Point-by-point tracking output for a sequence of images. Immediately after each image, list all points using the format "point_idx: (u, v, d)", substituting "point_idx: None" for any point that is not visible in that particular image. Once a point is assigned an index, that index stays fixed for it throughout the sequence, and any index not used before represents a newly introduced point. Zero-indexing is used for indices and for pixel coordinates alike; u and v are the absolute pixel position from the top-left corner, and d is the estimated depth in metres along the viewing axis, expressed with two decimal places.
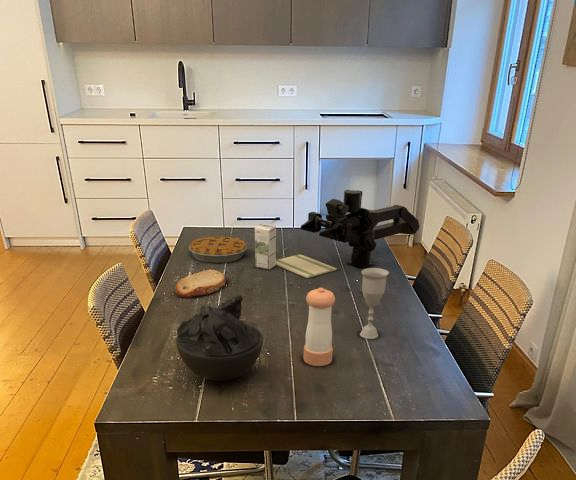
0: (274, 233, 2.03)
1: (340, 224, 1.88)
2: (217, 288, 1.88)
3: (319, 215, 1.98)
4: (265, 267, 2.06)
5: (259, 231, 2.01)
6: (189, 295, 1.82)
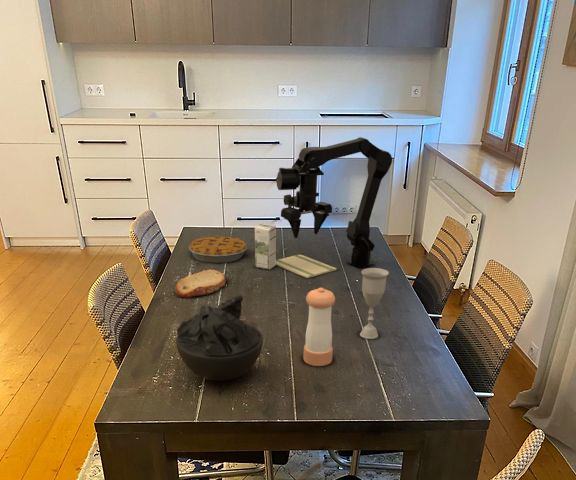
0: (274, 233, 2.03)
1: None
2: (217, 288, 1.88)
3: None
4: (265, 267, 2.06)
5: (259, 231, 2.01)
6: (189, 295, 1.82)
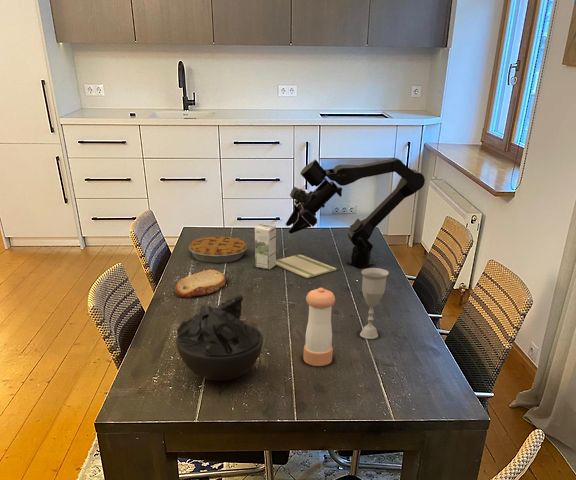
0: (274, 233, 2.03)
1: (298, 215, 1.94)
2: (217, 288, 1.88)
3: (299, 201, 2.04)
4: (265, 267, 2.06)
5: (259, 231, 2.01)
6: (189, 295, 1.82)
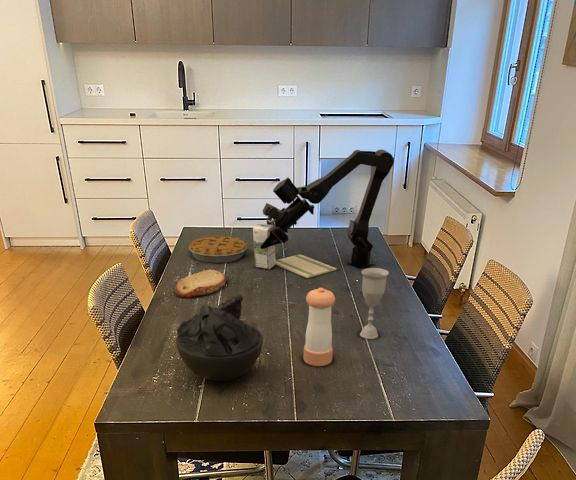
0: None
1: (270, 231, 1.96)
2: (217, 288, 1.88)
3: (272, 217, 2.06)
4: (265, 267, 2.06)
5: (257, 232, 2.00)
6: (189, 295, 1.82)
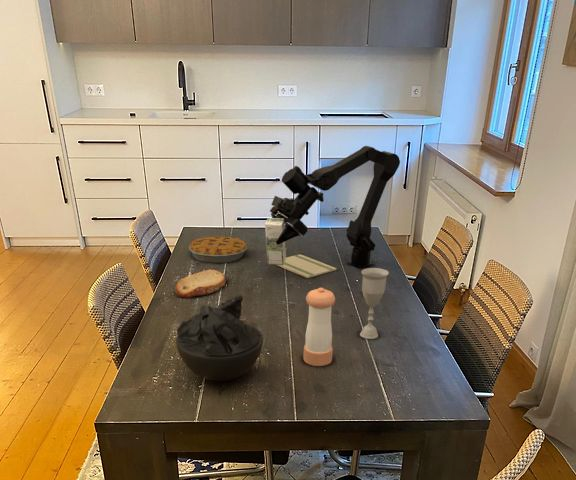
0: (284, 226, 1.92)
1: (287, 225, 1.86)
2: (217, 288, 1.88)
3: (277, 210, 1.95)
4: (279, 263, 1.96)
5: (271, 228, 1.89)
6: (189, 295, 1.82)
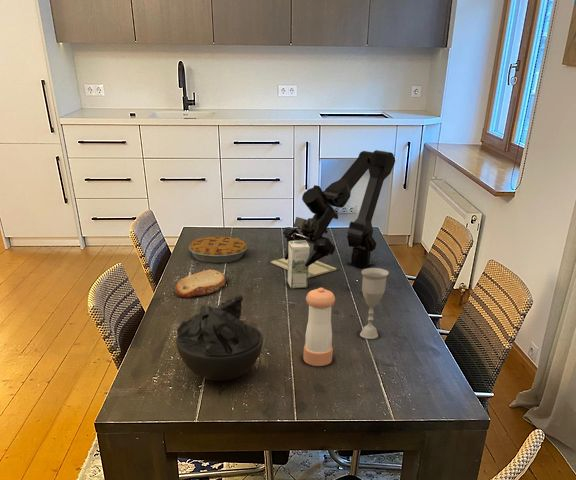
0: None
1: (318, 246, 1.82)
2: (217, 288, 1.88)
3: (293, 231, 1.90)
4: (303, 286, 1.91)
5: (298, 250, 1.84)
6: (189, 295, 1.82)
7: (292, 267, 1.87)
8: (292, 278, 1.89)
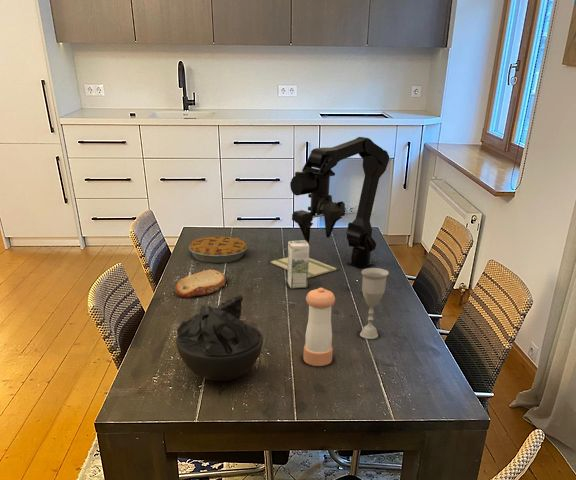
0: None
1: (340, 218, 1.93)
2: (217, 288, 1.88)
3: None
4: (303, 286, 1.91)
5: (298, 249, 1.84)
6: (189, 295, 1.82)
7: (292, 266, 1.87)
8: (292, 278, 1.89)
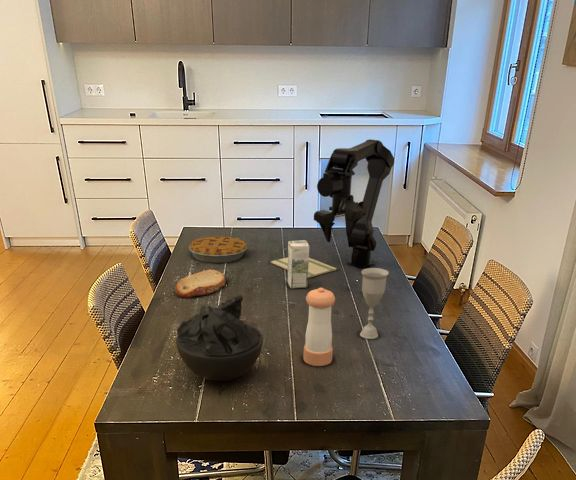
0: None
1: (361, 218, 1.94)
2: (217, 288, 1.88)
3: None
4: (303, 286, 1.91)
5: (298, 249, 1.84)
6: (189, 295, 1.82)
7: (292, 267, 1.87)
8: (292, 278, 1.89)
